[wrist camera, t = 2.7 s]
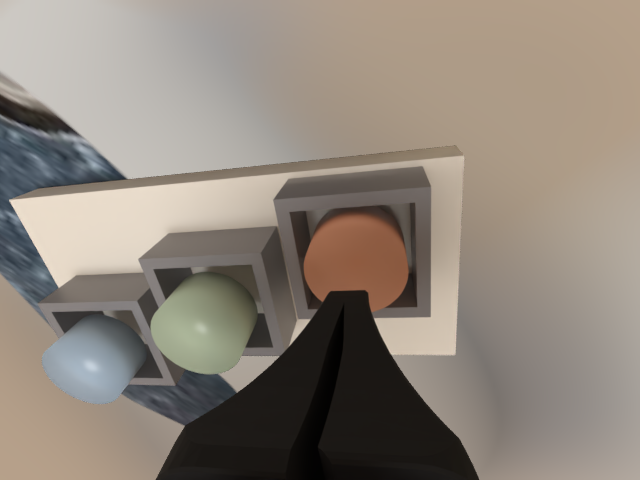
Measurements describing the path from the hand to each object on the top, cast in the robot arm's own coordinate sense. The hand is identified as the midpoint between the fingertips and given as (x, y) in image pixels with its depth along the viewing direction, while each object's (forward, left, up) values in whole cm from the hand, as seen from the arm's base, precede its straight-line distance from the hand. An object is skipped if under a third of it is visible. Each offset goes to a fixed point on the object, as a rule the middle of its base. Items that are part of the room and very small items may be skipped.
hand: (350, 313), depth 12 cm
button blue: (-5, +15, -4) cm, 16 cm away
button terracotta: (0, 0, -5) cm, 5 cm away
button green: (-2, +7, -4) cm, 9 cm away
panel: (-2, +7, -8) cm, 12 cm away
